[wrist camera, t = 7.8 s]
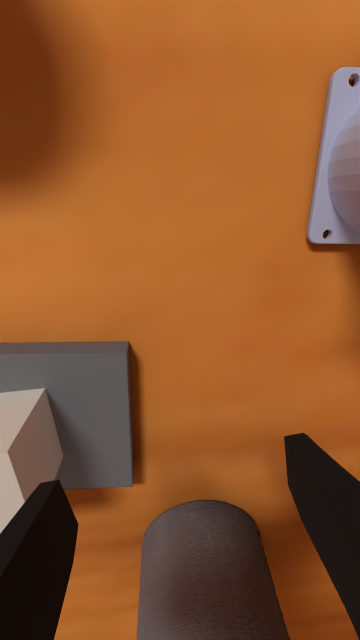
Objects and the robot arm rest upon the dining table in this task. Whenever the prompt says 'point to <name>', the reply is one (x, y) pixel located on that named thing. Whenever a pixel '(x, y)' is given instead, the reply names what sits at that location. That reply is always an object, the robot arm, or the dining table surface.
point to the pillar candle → (206, 577)
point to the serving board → (80, 405)
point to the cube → (25, 448)
